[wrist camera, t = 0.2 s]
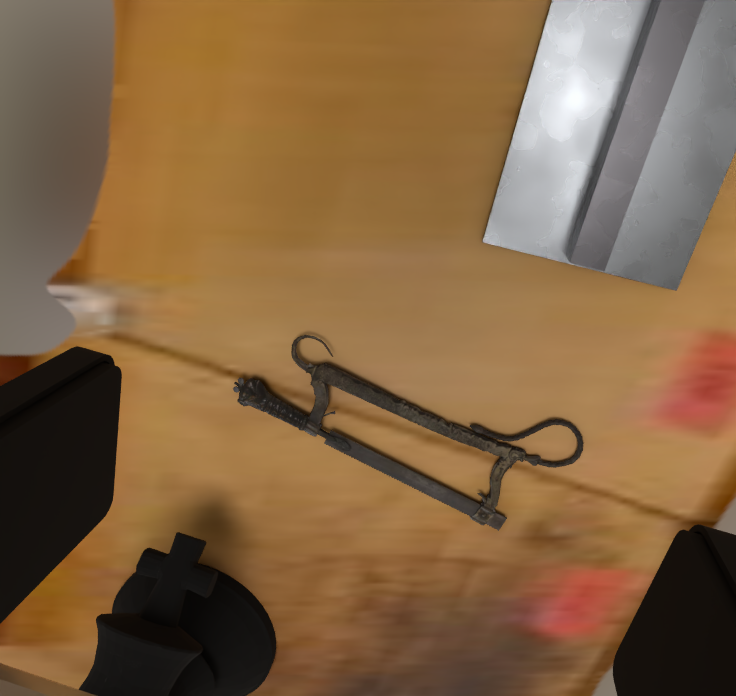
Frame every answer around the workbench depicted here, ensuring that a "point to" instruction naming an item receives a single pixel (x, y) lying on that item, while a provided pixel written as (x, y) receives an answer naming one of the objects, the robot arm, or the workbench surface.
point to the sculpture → (181, 631)
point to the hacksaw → (327, 374)
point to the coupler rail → (581, 125)
